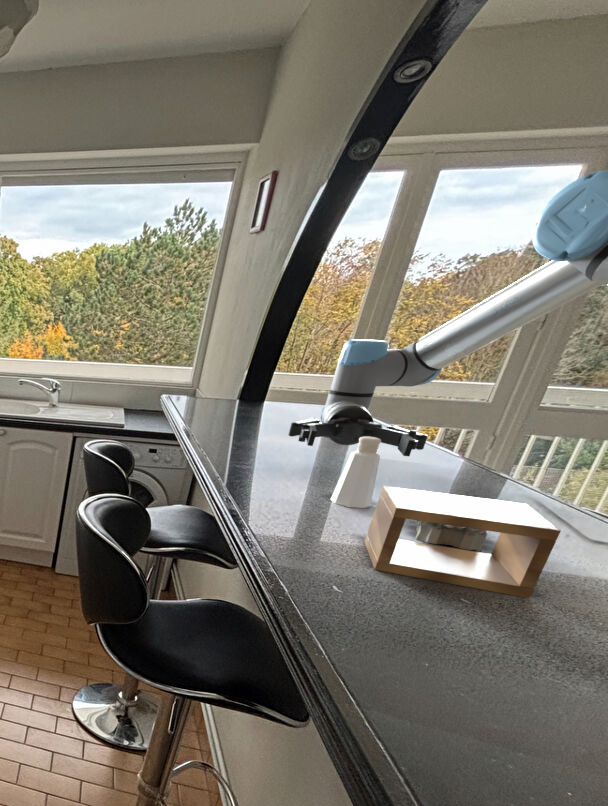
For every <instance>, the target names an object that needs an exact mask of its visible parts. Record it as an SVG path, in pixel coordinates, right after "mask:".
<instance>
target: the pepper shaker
mask: <svg viewBox="0 0 608 806" xmlns="http://www.w3.org/2000/svg"><path fill="white" fill-rule="evenodd" d="M380 444H381V440H380V439H379V438H375V437H360V438H359V443H357V448H356V450H354V451H351V453H350V454H349V456H348V458H347V461H346V463H345V465H344V468H343V469H342V472H341V474H340V475H339V479H338V481H337V483H336V486H335V487H334V490H333V492H332V494H331V496H330V501H331V502H333V504H335V505H338V506H343V507H346V508H356V509H367V508H369V507H371V505H372V499H373V495H374V490H375V485H376V480H377V475H378V469H379V464H380V458H381V455H380V454H378V453H377V452H378V449H379V446H380Z"/></svg>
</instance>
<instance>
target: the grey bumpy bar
mask: <svg viewBox="0 0 608 806" xmlns="http://www.w3.org/2000/svg"><path fill="white" fill-rule="evenodd" d="M415 526H416V529H415V531H416V536H415V539H416V540H418V541H422V542H423V543H425V544H431V545H447V546H452V547H453V548H457V549H462V550H468V551H477V552H481V550H482V547H483V545H484V543H485V540H486V538H487V535H488V533H487V531H486V530H479V529H472V528H466V527H459V526H452V525H445V524H438V523H431V522H424V521H418V520H416V525H415Z"/></svg>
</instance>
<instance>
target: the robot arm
mask: <svg viewBox="0 0 608 806" xmlns="http://www.w3.org/2000/svg"><path fill="white" fill-rule="evenodd" d="M535 221H536V222H535V225H534V228H533V229H532V234H531V235H532V237H531V239H532V245H533V247H534V249H535V251H536V252H537V253H538V254H539V255H540V256H541V257H543V258H546V259H549V260H551V261H549V262H547V263H545V264H544V265H542V266H540V267H539V268H537V269H535V270H534V271H533V270H532V272H530V273H529V274H527V275H525V276H523V277H522V278H520V279H518V280H517V281H515V282H513V283H511V284H510V285H508V286H507V287H505V288H504V289H501V290H499V291H498V292H496V293H495V294H493V295H491V296H490V297H488V298H486V299H484V300H482V301H481V302H480V303H477V304H476V305H474V306H473V307H471V308H469V309H468V310H466V311H464V312H463V313H461V314H460V315H459V314H458V316H456V317H454V318H452V319H451V320H449V321H447V322H446V323H444V324H442V325H440V326H439V327H437V328H436V329H434V330H432V331H430V332H429V333H427V334H426V335H424V336H422V337H421V338H419V339H418V340H415V341H414V342H412V343H411V344H409V345H407V346H405V347H403V348H400V349H390V348H389V346H390V345H389V342H388V341H387V340H379V339H349V340H346V342H345V343H344V344H343V346H342V349H341V352H340V355H339V357H338V359H337V365H336V367H335V371H334V375H333V379H332V382H331V385H330V389H329V393H328V394H327V398H326V401H325V405H324V406H323V407H322V409H321V414H320V419H318V418H317V417H310V418H309V419H304V420H303V419H302V420H298V421H293V422H290V427H289V431H288V435H287V436H288V437H298V436H299V437H298V439H297V441H298V442H301V443H305V442H306V443H307V444H306V445H307V446H309V447H314V443H315V439H316V438H327V439H329V440H331V441H332V442H333V443H335V444H338V445H341V446H353V445H358V443H359V438H360V437H375V438H379V439H380V440H381V442H380V444H386V445H390V446H393V447H397V450H398V451H399V453H400V454H401V455H402V456H403V457H410V456H411V453H412V451H413V450H418V451H420V450H422V451H423V450H424V448H425V445H426V443H427V440H428V438H429V435H428V434H426V433H421V432H418V430H416V429H412V430H411V429H406V428H403V427H400V426H398V425H395V424H388V425H387V426H386V427H383V425H382V424H381V423H378V422H377V423H376V422H375V420H374V418H373V415H372V414H371V413H370V412H369V409H370V406H371V403H372V399H373V397H374V394H375V390H376V388H377V387H416V386H423V385H426V384H429V383H431V382H433V381H434V380H435V379H437V378H438V376H439V375H440V374H441V373H442V371H443V369H444V368H446V367H448V366H450V365H451V364H454V363H456V362H457V361H459V360H462V359H464V358H465V357H467V356H469V355H470V354H472V353H474V352H477V351H478V350H480V349H482V348H484V347H486V346H488V345H490V344H491V343H494V342H495V341H497V340H499V339H501V338H503V337H505V336H508V335H510V334H511V333H512V332H514V331H516V330H518V329H520V328H522V327H524V326H526V325H528V324H530V323H532V322H533V321H536V320H537V319H539V318H541V317H543V316H545V315H547V314H549V313H552V311H555V310H557V309H558V308H560V307H562V306H564V305H566V304H568V303H570V302H571V301H573V300H575V299H578V298H579V297H581V296H584V295H585V294H587V293H589V292H591V291H592V290H594V289H597V288H598V287H605V286H608V169H603V170H598V171H594V172H591V173H589V174H586V175H584V176H581V177H579V178H578V179H575V180H574V181H572V182H571V183H569V184H568V185H566V186H564V187H563V188H562V189H561V190H559V191H558V192H557V193H556V194H555V195H554V196H553V197H552V198H551V199H549V201H548V202H547V203H546V204H545V205H544V206H543V208H542V210H541V211H540V213H539V214H538V216H537V218H536V220H535Z"/></svg>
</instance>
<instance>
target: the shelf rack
mask: <svg viewBox="0 0 608 806" xmlns="http://www.w3.org/2000/svg"><path fill="white" fill-rule="evenodd" d="M380 491H381V492H380V495H379V497H378V499H377V503H376V506H375V509H374V512H373V515H372V519H371V521H370V523H369V527H368V530H367V533H366V535H365V538H364V545H365V548H366V550H367V554H368V555H369V558H370V561H371V564H372V567H373V569H374V570H375V571H378V572H384V573H389V574H395V575H399V576H400V575H401V576H407V577H411V578H417V579H422V580H428V581H432V582H433V581H434V582H440V583H443V584H450V585H455V586H460V587H466V588H471V589H472V588H473V589H478V590H483V591H488V592H494V593H500V594H504V595H510V596H516V597H521V598H526V599H530V598H531V596H532V594H533V591H534V589H535V587H536V585H537V583H538V581H539V579H540V576H541V574H542V573H543V570H544V568H545V566H546V564H547V561H548V560H549V557H550V555H551V553H552V552H553V549H554V547H555V544H556V542H557V540H558V538H559V536H560V533H561V531H562V530H561V529H559V528H558V527H557V526H555V525H554V524H553V523H551V522H550V521H549V520H548V519H547V518H545V517H544V516H543V515H541V514H540V513H539V512H538V511H537V510H535V509H534V508H533V507H531V506H530V505H529V504H528V503H523V502H515V501H507V500H500V499H492V498H484V497H476V496H468V495H460V494H452V493H444V492H436V491H428V490H422V489H421V490H420V489H414V488H412V489H411V488H404V487H395V486H388V485H382V489H381V490H380ZM406 520H411V521H417V520H418V521H424V522H431V523H438V524H445V525H452V526H459V527H466V528H472V529H479V530H486V532H493V533H499V536H498V538H497V539H496V543H495V545H494V548H493V549H492V552H491V553H487V552H481V551H476V550H466V549H462V548H457V547H449V546H448V547H447V546H443V545H438V544H436V545H435V544H432V543H426V542H418V541H411V540H405V539H400V537H401V534H402V530H403V527H404V525H405V522H406Z"/></svg>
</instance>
